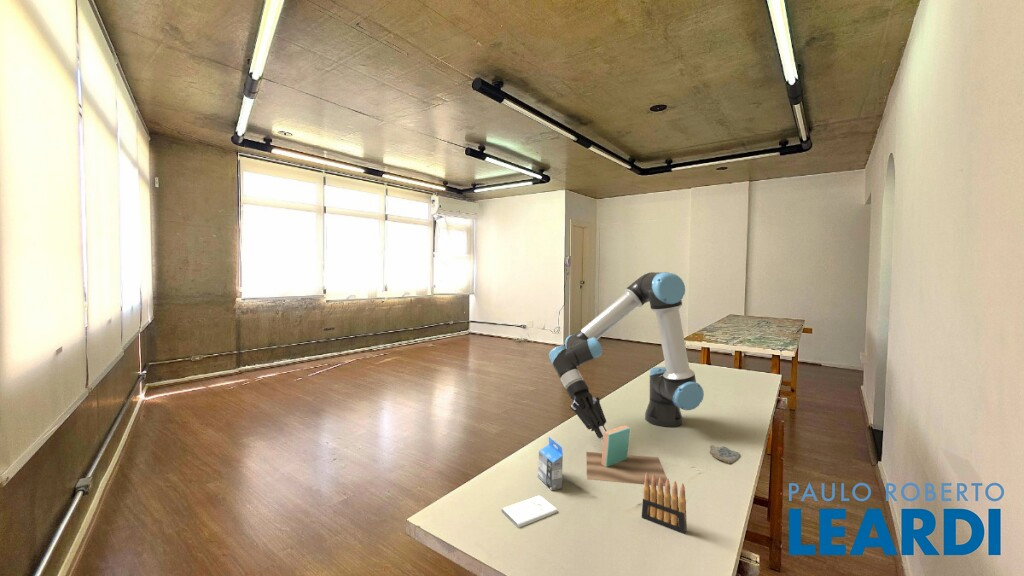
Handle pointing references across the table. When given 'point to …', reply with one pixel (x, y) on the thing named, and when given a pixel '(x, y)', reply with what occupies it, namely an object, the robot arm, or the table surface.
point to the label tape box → (551, 465)
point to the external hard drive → (528, 511)
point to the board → (625, 469)
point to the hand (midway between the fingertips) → (608, 446)
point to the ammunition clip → (664, 505)
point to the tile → (615, 445)
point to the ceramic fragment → (724, 454)
